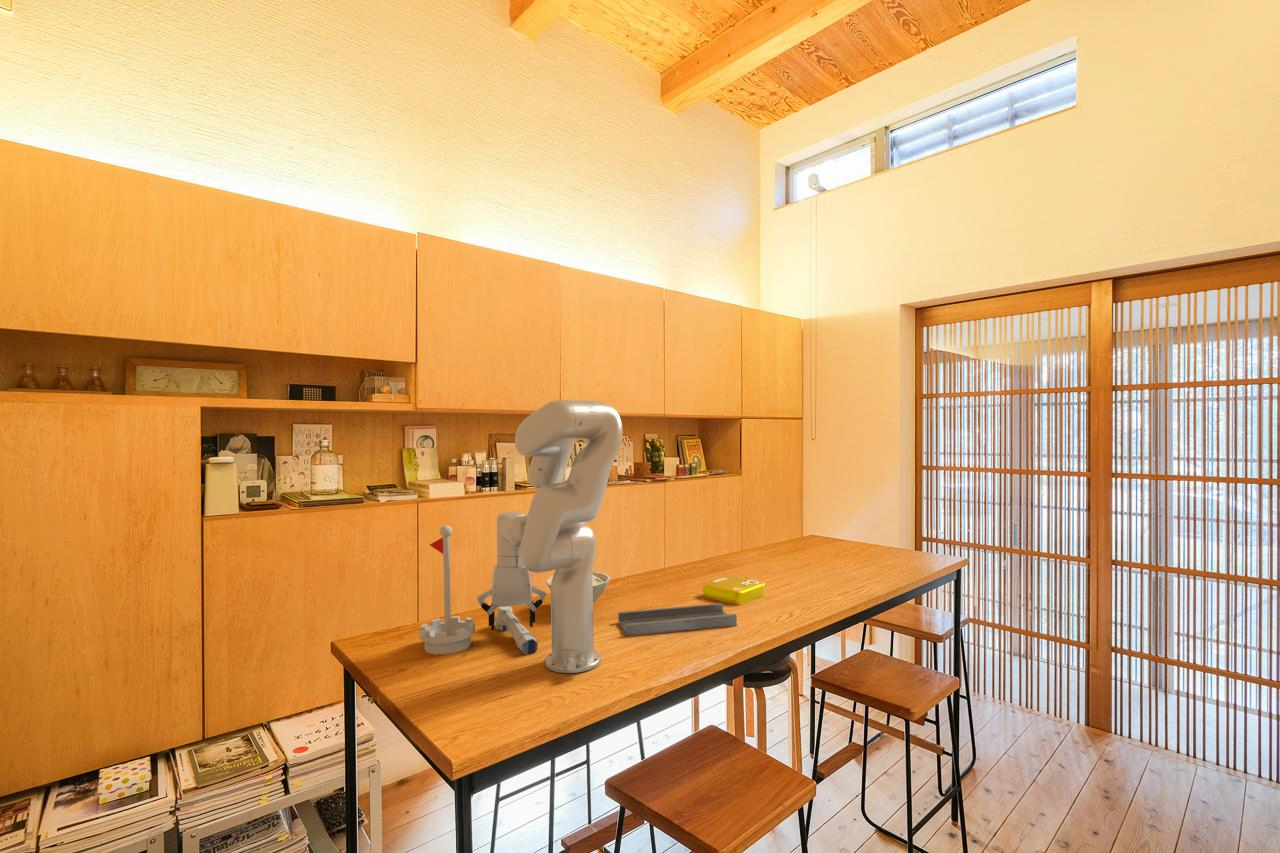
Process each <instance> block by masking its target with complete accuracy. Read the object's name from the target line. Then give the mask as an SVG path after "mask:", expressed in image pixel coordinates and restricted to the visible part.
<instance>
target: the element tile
mask: <svg viewBox="0 0 1280 853" xmlns="http://www.w3.org/2000/svg"><path fill="white" fill-rule="evenodd" d="M702 586H703V587H702V589H703V590H702V592H703V598H705V597H706V598H705V599H709V598H710V600H713V599H715V600H714V601H717V600H718V602H721V603H722V602H723V603H726V602H727V604H730V603H731V605H734V604H736V606H743V605H746V604H749V603H751V602H754V601H757V600H759V599H762V598H764V597H766V583H765V582H763V581H758V580H753V579H747V578H743V577H738V576H733V575H727V576H724V577H721V578H717V579H713V580H711V581H709V582H705V583H703V585H702ZM756 599H757V600H756ZM753 600H754V601H753ZM750 601H751V602H750ZM748 602H749V603H748ZM742 604H743V605H742Z"/></svg>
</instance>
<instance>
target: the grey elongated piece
mask: <svg viewBox="0 0 1280 853" xmlns="http://www.w3.org/2000/svg"><path fill="white" fill-rule="evenodd" d="M495 629H496V630H498V629H499V630H500V631H501V632H506V630H508V631H509V633H510V634H511V636H512V638H513V639H514V641H515V643H516V647H517V648H518V649H519V650H520V651H521V653H522V654H524V655H525V656H527V655H532V653H533V654H535V653H536V652H537V651H538V650H539V647H538V645H539V643H538V641H537V640H536V639H535V638H536V637H535V635H534V634H533V633H532V632H530V631H529V630H528V629H527V628H526V627H525V626H524V625H523V623H522V622H521V621H520V620H519V618H517V617H516V616H515V614H514V613H513V608H512V606H503V607H498V610H497V614H496V615H495Z"/></svg>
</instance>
